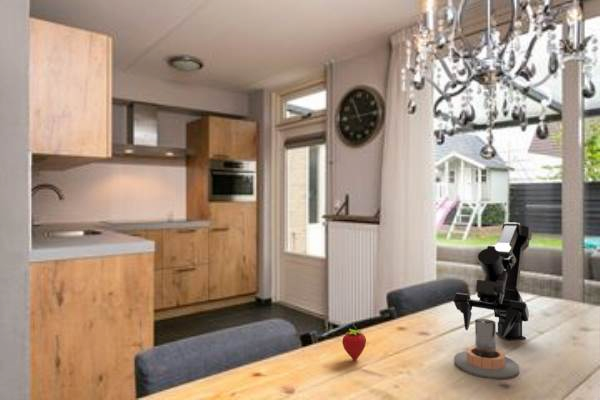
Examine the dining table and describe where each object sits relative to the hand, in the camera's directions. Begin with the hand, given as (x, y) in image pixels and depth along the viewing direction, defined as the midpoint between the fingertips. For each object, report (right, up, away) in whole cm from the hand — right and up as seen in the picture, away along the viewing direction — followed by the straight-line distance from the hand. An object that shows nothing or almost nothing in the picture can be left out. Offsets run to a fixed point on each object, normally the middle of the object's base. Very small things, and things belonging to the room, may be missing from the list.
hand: (483, 333), depth 105 cm
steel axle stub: (+1, -8, +1) cm, 8 cm away
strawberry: (-34, -10, +6) cm, 36 cm away
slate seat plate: (+1, -9, +1) cm, 9 cm away
